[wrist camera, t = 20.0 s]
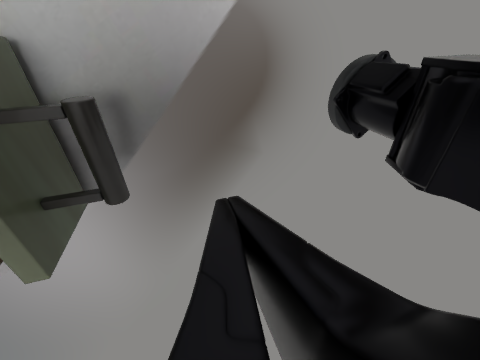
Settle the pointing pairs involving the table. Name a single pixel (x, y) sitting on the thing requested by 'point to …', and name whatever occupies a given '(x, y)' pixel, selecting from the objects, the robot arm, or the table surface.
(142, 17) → the table surface
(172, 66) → the table surface
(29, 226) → the drawer
